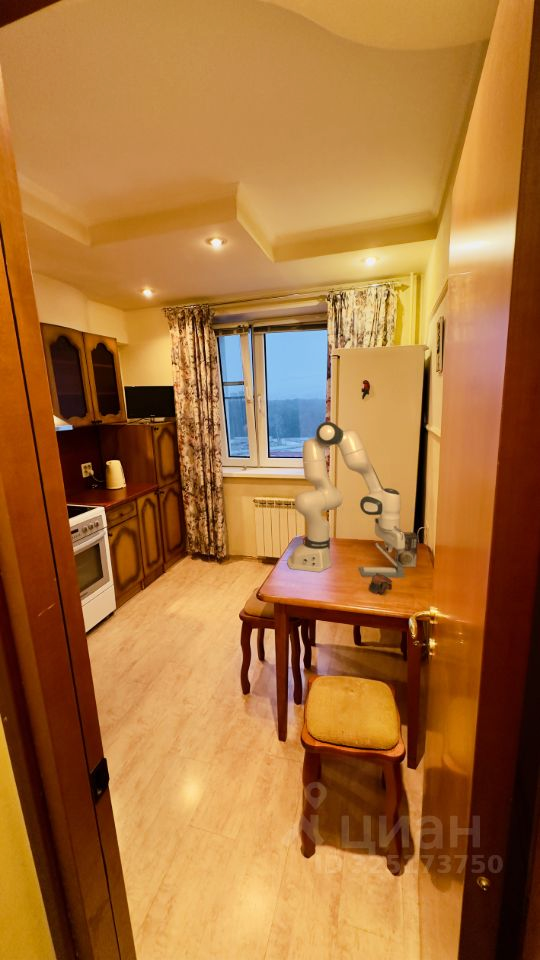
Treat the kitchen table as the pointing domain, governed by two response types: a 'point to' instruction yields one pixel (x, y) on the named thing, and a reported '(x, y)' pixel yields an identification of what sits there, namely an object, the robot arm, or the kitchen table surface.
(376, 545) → the arm
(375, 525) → the robot arm
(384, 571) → the base
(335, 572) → the kitchen table surface
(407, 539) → the coffee box
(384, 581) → the pottery mug
